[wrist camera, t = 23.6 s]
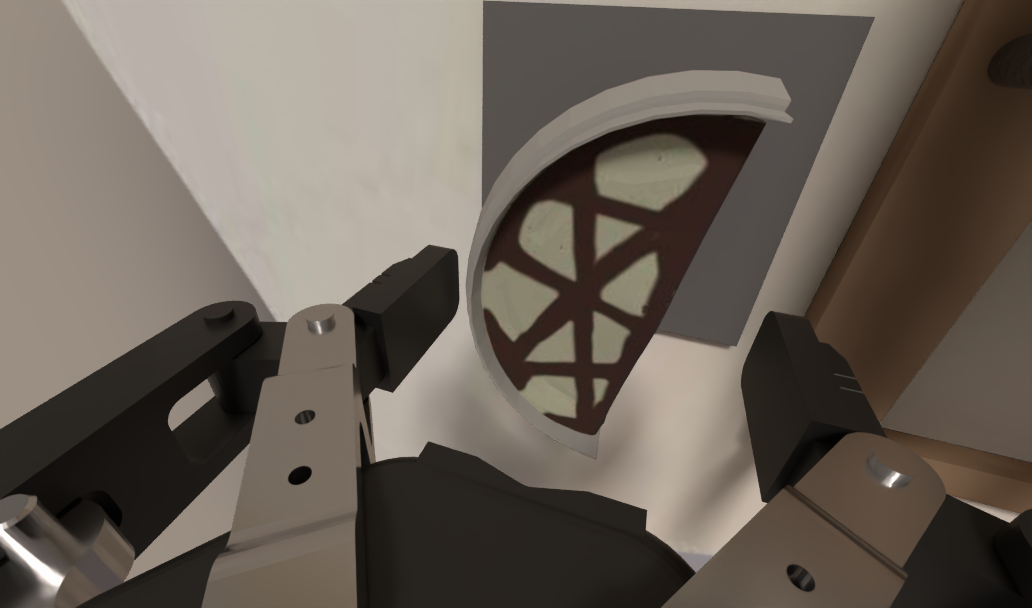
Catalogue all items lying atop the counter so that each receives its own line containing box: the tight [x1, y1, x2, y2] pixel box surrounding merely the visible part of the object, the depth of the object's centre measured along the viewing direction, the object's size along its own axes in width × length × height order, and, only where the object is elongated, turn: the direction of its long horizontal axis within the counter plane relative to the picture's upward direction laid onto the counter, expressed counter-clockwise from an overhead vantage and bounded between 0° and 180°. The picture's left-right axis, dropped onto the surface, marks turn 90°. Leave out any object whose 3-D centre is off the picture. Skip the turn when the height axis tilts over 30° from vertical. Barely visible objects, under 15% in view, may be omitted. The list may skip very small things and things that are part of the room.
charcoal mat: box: [482, 1, 875, 346], centre depth 20 cm, size 14×14×1 cm
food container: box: [466, 70, 793, 459], centre depth 16 cm, size 12×6×10 cm, turn 166°
